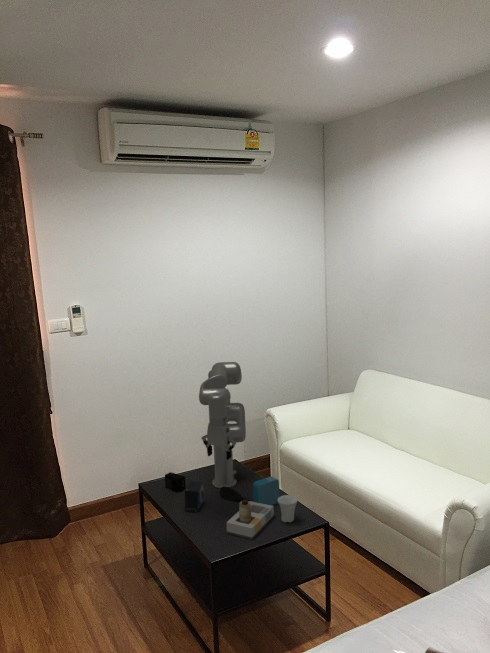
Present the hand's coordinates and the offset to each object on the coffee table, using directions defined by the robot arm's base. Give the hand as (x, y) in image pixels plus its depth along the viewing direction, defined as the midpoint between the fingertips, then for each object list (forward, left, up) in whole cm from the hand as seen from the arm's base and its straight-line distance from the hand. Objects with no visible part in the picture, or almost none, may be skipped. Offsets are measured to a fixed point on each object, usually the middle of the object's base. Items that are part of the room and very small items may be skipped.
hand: (219, 456), depth 242 cm
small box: (0, -15, -27) cm, 31 cm away
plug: (+9, +17, -26) cm, 32 cm away
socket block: (+4, +17, -27) cm, 32 cm away
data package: (-16, +15, -27) cm, 35 cm away
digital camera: (-12, -35, -27) cm, 46 cm away
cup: (-6, +30, -27) cm, 41 cm away
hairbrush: (-15, +1, -28) cm, 31 cm away
